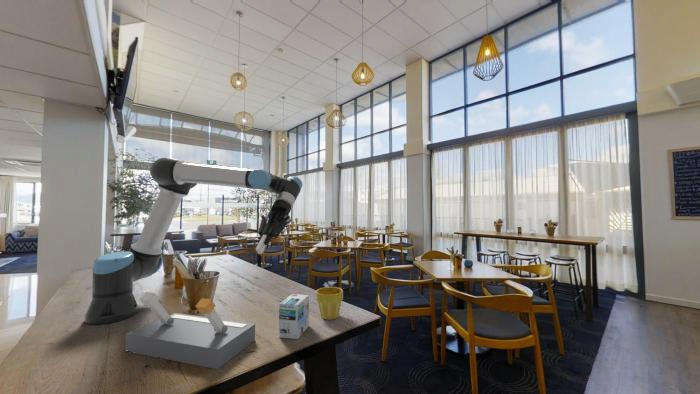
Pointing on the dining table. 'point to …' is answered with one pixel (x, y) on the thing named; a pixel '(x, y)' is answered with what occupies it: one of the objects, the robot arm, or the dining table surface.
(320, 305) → the plant pot
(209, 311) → the breaker
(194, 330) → the box
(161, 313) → the breaker on
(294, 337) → the light bulb box
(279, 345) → the dining table surface
